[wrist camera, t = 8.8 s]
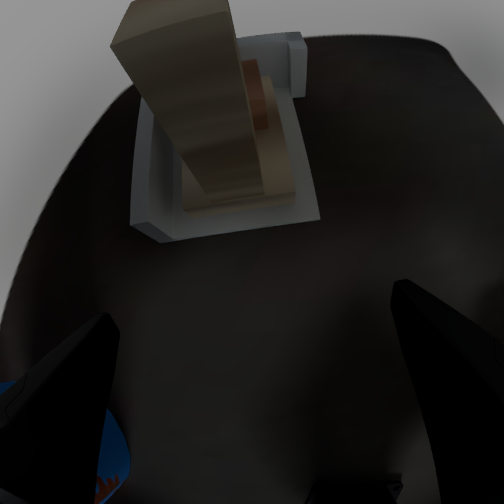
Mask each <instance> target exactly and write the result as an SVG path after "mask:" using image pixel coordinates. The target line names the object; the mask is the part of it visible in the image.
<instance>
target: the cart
mask: <svg viewBox="0 0 504 504" xmlns="http://www.w3.org/2000/svg"><path fill="white" fill-rule="evenodd" d="M110 48H111V49H112V51H113V52H114V53H115V55H116V57H117V59H118V60H119V62H120V63H121V65H122V66H123V68H124V69H125V71H126V72H127V74H128V75H129V77H130V79H131V80H132V81H133V83H134V85H135V86H136V88H137V90H138V91H139V93H140V94H141V96H142V97H143V99H144V100H145V102H146V103H147V105H148V107H149V108H150V110H151V111H152V113H153V114H154V116H155V117H156V119H157V120H158V122H159V124H160V125H161V127H162V128H163V130H164V131H165V133H166V134H167V136H168V137H169V139H170V140H171V142H172V143H173V145H174V147H175V148H176V150H177V151H178V153H179V154H180V156H181V157H182V200H183V210H184V211H185V212H186V214H187V215H188V216H189V217H190V218H191V219H195V218H201V217H207V216H213V215H220V214H226V213H232V212H239V211H245V210H252V209H259V208H266V207H273V206H280V205H288V204H295V196H296V190H295V185H294V180H293V175H292V170H291V165H290V160H289V155H288V150H287V146H286V141H285V136H284V132H283V127H282V123H281V118H280V114H279V110H278V106H277V101H276V97H275V93H274V89H273V85H272V81H271V77H270V76H264V77H260V72H259V68H258V64H257V59H252V60H245V61H241V59H240V54H239V49H238V44H237V39H236V35H235V30H234V25H233V21H232V16H231V12H230V7H229V3H228V0H135V1H133V2H131V3H130V6H129V7H128V9H127V11H126V13H125V15H124V17H123V19H122V21H121V23H120V25H119V27H118V30H117V32H116V34H115V36H114V38H113V40H112V43H111V45H110Z"/></svg>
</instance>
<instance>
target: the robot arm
mask: <svg viewBox="0 0 504 504" xmlns="http://www.w3.org/2000/svg"><path fill="white" fill-rule="evenodd" d="M390 307H391V311H392V315H393V319H394V322H395V326H396V330H397V334H398V338H399V342H400V346H401V350H402V353H403V356H404V359H405V362H406V365H407V368H408V371H409V373H410V376H411V379H412V382H413V386H414V389H415V392H416V395H417V398H418V402H419V405H420V408H421V412H422V415H423V419H424V422H425V426H426V430H427V434H428V438H429V442H430V446H431V450H432V454H433V459H434V464H435V467H436V474H437V479H438V485H439V491H440V497H441V504H504V344H503V343H502V342H500V341H499V340H498V339H496V338H495V337H494V338H493V336H492V335H491V334H489V333H488V332H486V331H485V330H484V329H482V328H481V327H479V326H478V325H477V324H475V323H474V322H472V321H471V320H469V319H468V318H467V317H465V316H464V315H462V314H461V313H459V312H458V311H456V310H455V309H453V308H452V307H450V306H449V305H447V304H446V303H444V302H443V301H441V300H440V299H438V298H437V297H435V296H434V295H432V294H431V293H429V292H427V291H426V290H424V289H423V288H421V287H420V286H418V285H416V284H415V283H413V282H412V281H410V280H408V279H403V280H397V281H395V282H394V285H393V290H392V296H391V302H390ZM119 338H120V332H119V329H118V327H117V326H116V324H115V323H114V321H113V319H112V318H111V316H110V315H109V314H108V313H97V314H95V315H94V316H93V317H92V318H90V319H89V320H88V321H87V322H85V323H84V324H83V325H82V326H80V327H79V328H78V329H77V330H76V331H74V332H73V333H72V334H71V335H70V336H68V337H67V338H66V339H65V340H64V341H62V342H61V343H60V344H59V345H58V346H56V347H55V348H54V349H53V350H52V351H51V352H49V353H48V354H47V355H46V356H45V357H44V358H42V359H41V360H40V361H39V362H38V363H37V364H36V365H34V366H33V367H32V368H31V369H30V370H29V371H28V372H26V373H25V374H24V375H23V376H22V377H21V378H20V379H19V380H17V381H16V382H15V383H14V384H13V385H12V386H11V387H9V388H8V389H7V390H6V391H4V392H3V393H2V394H1V395H0V504H95V493H96V481H97V470H98V462H99V454H100V447H101V440H102V434H103V428H104V422H105V417H106V411H107V406H108V401H109V396H110V391H111V387H112V382H113V378H114V372H115V365H116V358H117V351H118V344H119ZM396 486H397V487H396ZM320 487H324V488H323V489H318V488H320ZM394 487H396V488H394ZM402 488H403V484H402V482H401V481H398V480H397V481H350V482H329V481H320V482H317V483H316V484H315V485H314V486H313V489H312V491H311V493H310V496H309V498H308V500H307V503H306V504H397V503H396V499H397V498H398V496H399V494H400V492H401V490H402Z"/></svg>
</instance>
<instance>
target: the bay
mask: <svg viewBox="0 0 504 504" xmlns="http://www.w3.org/2000/svg"><path fill="white" fill-rule="evenodd" d="M236 39H237V44H238V49H239V54H240V59H241V61H245V60H252V59H257V64H258V68H259V72H260V77H264V76H270V77H271V81H272V85H273V89H274V93H275V97H276V101H277V106H278V110H279V114H280V118H281V123H282V127H283V132H284V136H285V141H286V146H287V150H288V155H289V160H290V165H291V170H292V175H293V180H294V185H295V190H296V196H295V204H288V205H280V206H273V207H266V208H259V209H252V210H245V211H239V212H232V213H226V214H220V215H213V216H207V217H201V218H195V219H191V218H190V217H189V216H188V215H187V214H186V212H185V211H184V210H183V200H182V157H181V156H180V154H179V153H178V151H177V150H176V148H175V147H174V145H173V143H172V142H171V140H170V139H169V137H168V136H167V134H166V133H165V131H164V130H163V128H162V127H161V125H160V124H159V122H158V120H157V119H156V117H155V116H154V114H153V113H152V111H151V110H150V108H149V107H148V105H147V103H146V102H145V100H144V99H143V97H142V98H141V105H140V111H139V118H138V125H137V133H136V141H135V150H134V160H133V172H132V187H131V206H130V225H131V226H132V227H134V228H136V229H137V230H139V231H141V232H142V233H144V234H146V235H147V236H149V237H151V238H152V239H154V240H156V241H157V242H159V243H165V242H171V241H178V240H184V239H190V238H197V237H203V236H210V235H216V234H223V233H230V232H237V231H243V230H250V229H257V228H264V227H272V226H279V225H286V224H294V223H301V222H309V221H316V220H320V213H319V208H318V203H317V199H316V194H315V189H314V184H313V180H312V175H311V171H310V167H309V162H308V158H307V154H306V150H305V146H304V141H303V138H302V134H301V130H300V126H299V122H298V118H297V115H296V111H295V107H294V104H293V100H292V98H298V97H305V94H306V74H307V46H306V44H305V42H304V40H303V37H302V35H301V33H300V32H285V33H274V34H264V35H256V36H248V37H242V38H236Z"/></svg>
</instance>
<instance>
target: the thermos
mask: <svg viewBox="0 0 504 504" xmlns="http://www.w3.org/2000/svg"><path fill="white" fill-rule="evenodd" d="M15 382H16V381H11V382H3V383H0V395H1V394H2V393H3V392H4V391H6V390H7V389H8V388H9V387H11V386H12V385H13V384H14V383H15ZM130 458H131V456H130V453H129V450H128V447H127V443H126V440H125V436H124V434H123V433H122V431H121V429H120V427H119V426H118V424H117V422H116V420H115V419H114V417H113V415H112V413H111V412H110V411H109V410H108V409H107V411H106V417H105V422H104V428H103V434H102V440H101V447H100V454H99V462H98V470H97V481H96V493H95V504H104V503H105V502H106V501H107V500H108V499H109V498H110V497H111V496H112V495H113V494H114V493H115V492H116V490H117V489H118V488H119V487H120V486H121V485H122V484H123V483H124V481H125V480H126V478H127V477H128V475H129V474H130Z"/></svg>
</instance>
